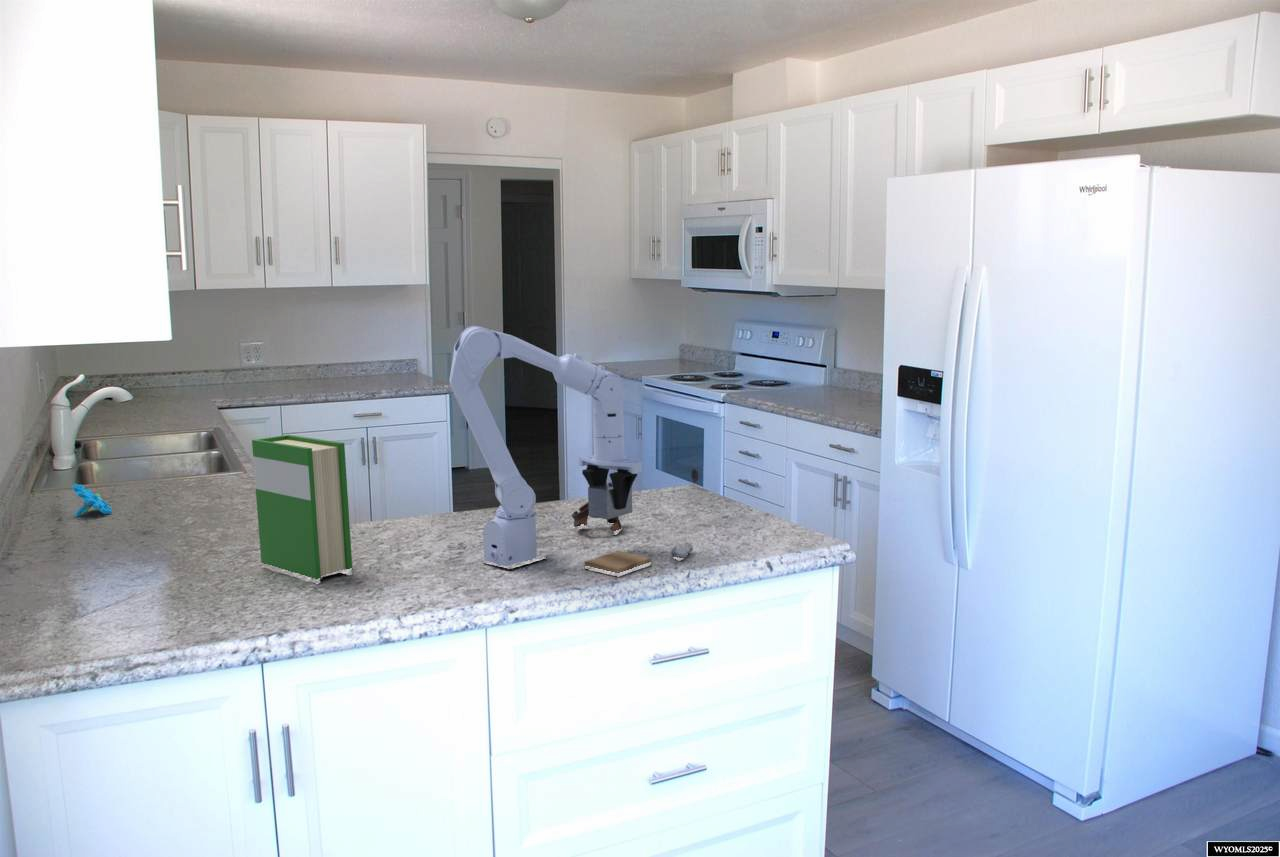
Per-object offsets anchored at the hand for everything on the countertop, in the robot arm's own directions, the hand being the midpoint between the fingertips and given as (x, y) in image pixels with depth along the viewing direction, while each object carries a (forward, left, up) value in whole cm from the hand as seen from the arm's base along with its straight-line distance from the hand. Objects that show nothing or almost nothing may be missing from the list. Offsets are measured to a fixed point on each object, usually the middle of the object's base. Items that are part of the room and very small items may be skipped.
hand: (610, 506), depth 191 cm
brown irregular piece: (+11, +13, -9) cm, 19 cm away
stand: (-7, -8, -9) cm, 14 cm away
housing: (0, 0, -2) cm, 2 cm away
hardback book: (-43, +36, -9) cm, 57 cm away
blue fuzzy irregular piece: (-48, +118, -9) cm, 128 cm away
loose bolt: (+6, -13, -9) cm, 17 cm away
